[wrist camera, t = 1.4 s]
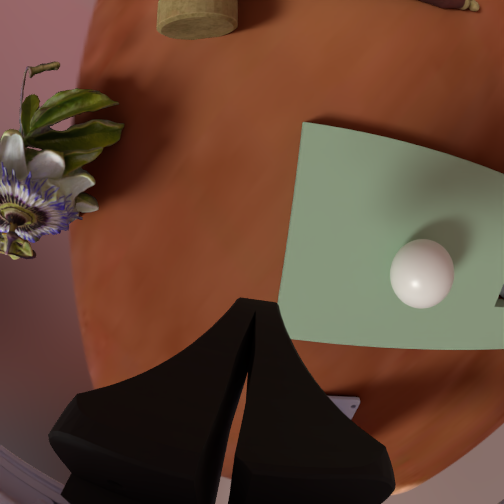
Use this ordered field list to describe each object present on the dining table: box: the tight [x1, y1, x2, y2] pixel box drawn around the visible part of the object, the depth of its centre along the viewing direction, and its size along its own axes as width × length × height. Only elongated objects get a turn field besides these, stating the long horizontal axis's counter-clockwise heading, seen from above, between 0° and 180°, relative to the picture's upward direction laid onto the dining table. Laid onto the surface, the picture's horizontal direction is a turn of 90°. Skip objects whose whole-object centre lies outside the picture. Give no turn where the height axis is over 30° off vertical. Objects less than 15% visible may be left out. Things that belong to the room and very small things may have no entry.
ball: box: [390, 239, 454, 309], centre depth 16 cm, size 4×4×4 cm
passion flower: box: [0, 62, 124, 259], centre depth 16 cm, size 11×11×12 cm
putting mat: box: [277, 122, 504, 350], centre depth 18 cm, size 14×26×2 cm, turn 84°
